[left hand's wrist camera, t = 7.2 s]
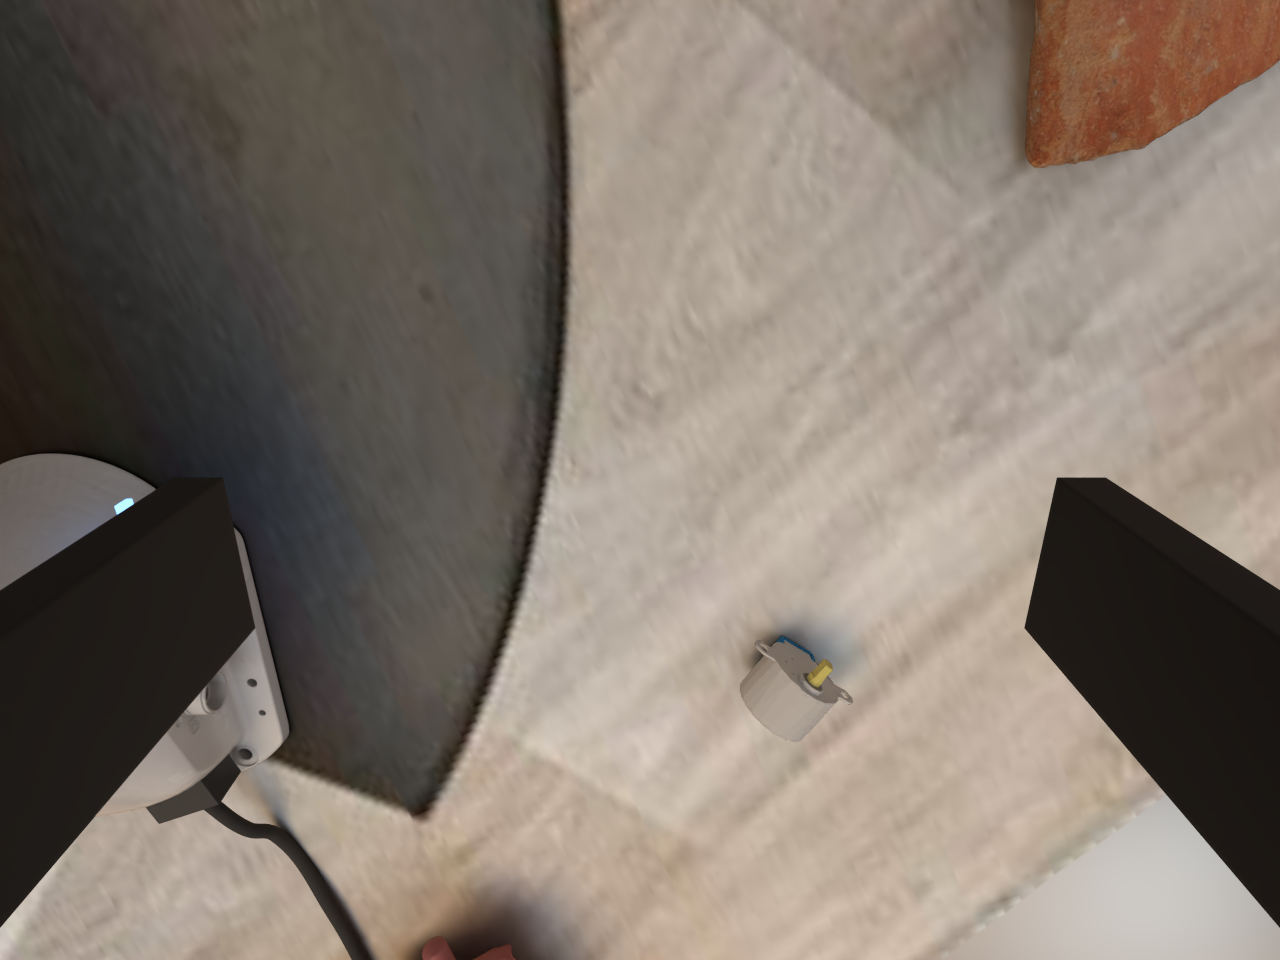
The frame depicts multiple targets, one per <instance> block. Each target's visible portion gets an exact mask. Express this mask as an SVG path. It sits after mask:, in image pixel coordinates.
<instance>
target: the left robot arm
mask: <svg viewBox="0 0 1280 960" xmlns="http://www.w3.org/2000/svg"><path fill="white" fill-rule="evenodd" d="M254 629H255V623H254V619H253V614H252V609H251V605H250V600H249V596H248V591H247V586H246V582H245V577H244V572H243V568H242V563H241V559H240V554H239V549H238V545H237V540H236V535H235V531H234V526H233V522H232V517H231V512H230V508H229V503H228V498H227V494H226V489H225V485H224V480H223V478H173V479H171V480H170V481H168V482H167V483H165V484H164V485H162V486H161V487H159V488H158V489H156V490H154V491H153V492H151V493H150V494H148V495H147V496H145V497H144V498H142V499H141V500H139V501H137V502H136V503H134V504H133V505H131V506H130V507H128V508H127V509H125V510H124V511H122V512H120V513H119V514H117V515H116V516H114V517H113V518H111V519H110V520H108V521H106V522H105V523H103V524H102V525H100V526H99V527H97V528H96V529H94V530H93V531H91V532H89V533H88V534H86V535H85V536H83V537H82V538H80V539H79V540H77V541H76V542H74V543H72V544H71V545H69V546H68V547H66V548H65V549H63V550H62V551H60V552H59V553H57V554H55V555H54V556H52V557H51V558H49V559H48V560H46V561H45V562H43V563H41V564H40V565H38V566H37V567H35V568H34V569H32V570H31V571H29V572H28V573H26V574H24V575H23V576H21V577H20V578H18V579H17V580H15V581H14V582H12V583H11V584H9V585H7V586H6V587H4V588H3V589H1V590H0V927H1V926H2V925H3V924H4V923H5V921H6V920H7V919H8V918H9V917H10V916H11V914H12V913H13V912H14V911H15V910H16V908H17V907H18V906H19V905H20V904H21V903H22V901H23V900H24V899H25V898H26V897H27V896H28V894H29V893H30V892H31V891H32V890H33V889H34V887H35V886H36V885H37V884H38V883H39V881H40V880H41V879H42V878H43V877H44V876H45V874H46V873H47V872H48V871H49V870H50V869H51V867H52V866H53V865H54V864H55V863H56V862H57V860H58V859H59V858H60V857H61V856H62V854H63V853H64V852H65V851H66V850H67V849H68V847H69V846H70V845H71V844H72V843H73V842H74V840H75V839H76V838H77V837H78V836H79V835H80V833H81V832H82V831H83V830H84V829H85V828H86V826H87V825H88V824H89V823H90V822H91V820H92V819H93V818H94V817H95V816H96V815H97V813H98V812H99V811H100V810H101V809H102V808H103V806H104V805H105V804H106V803H107V802H108V801H109V799H110V798H111V797H112V796H113V795H114V793H115V792H116V791H117V790H118V789H119V788H120V786H121V785H122V784H123V783H124V782H125V781H126V779H127V778H128V777H129V776H130V775H131V774H132V772H133V771H134V770H135V769H136V768H137V766H138V765H139V764H140V763H141V762H142V761H143V759H144V758H145V757H146V756H147V755H148V754H149V752H150V751H151V750H152V749H153V748H154V747H155V745H156V744H157V743H158V742H159V741H160V739H161V738H162V737H163V736H164V735H165V734H166V732H167V731H168V730H169V729H170V728H171V727H172V725H173V724H174V723H175V722H176V721H177V720H178V718H179V717H180V716H181V715H182V714H183V713H184V711H185V710H186V709H187V708H188V707H189V705H190V704H191V703H192V702H193V701H194V700H195V698H196V697H197V696H198V695H199V694H200V693H201V691H202V690H203V689H204V688H205V687H206V686H207V684H208V683H209V682H210V681H211V680H212V678H213V677H214V676H215V675H216V674H217V673H218V671H219V670H220V669H221V668H222V667H223V666H224V664H225V663H226V662H227V661H228V660H229V659H230V657H231V656H232V655H233V654H234V653H235V651H236V650H237V649H238V648H239V647H240V646H241V644H242V643H243V642H244V641H245V640H246V639H247V637H248V636H249V635H250V634H251V633H252V632H253V630H254ZM1025 629H1026V630H1027V632H1028V633H1029V634H1030V635H1031V636H1032V637H1033V639H1034V640H1035V641H1036V642H1037V643H1038V644H1039V646H1040V647H1041V648H1042V649H1043V650H1044V651H1045V653H1046V654H1047V655H1048V656H1049V657H1050V659H1051V660H1052V661H1053V662H1054V663H1055V664H1056V666H1057V667H1058V668H1059V669H1060V670H1061V671H1062V673H1063V674H1064V675H1065V676H1066V677H1067V678H1068V680H1069V681H1070V682H1071V683H1072V684H1073V686H1074V687H1075V688H1076V689H1077V690H1078V691H1079V693H1080V694H1081V695H1082V696H1083V697H1084V698H1085V700H1086V701H1087V702H1088V703H1089V704H1090V705H1091V707H1092V708H1093V709H1094V710H1095V711H1096V713H1097V714H1098V715H1099V716H1100V717H1101V718H1102V720H1103V721H1104V722H1105V723H1106V724H1107V725H1108V727H1109V728H1110V729H1111V730H1112V731H1113V732H1114V734H1115V735H1116V736H1117V737H1118V738H1119V739H1120V741H1121V742H1122V743H1123V744H1124V745H1125V747H1126V748H1127V749H1128V750H1129V751H1130V752H1131V754H1132V755H1133V756H1134V757H1135V758H1136V759H1137V761H1138V762H1139V763H1140V764H1141V765H1142V766H1143V768H1144V769H1145V770H1146V771H1147V772H1148V774H1149V775H1150V776H1151V777H1152V778H1153V779H1154V781H1155V782H1156V783H1157V784H1158V785H1159V786H1160V788H1161V789H1162V790H1163V791H1164V792H1165V793H1166V795H1167V796H1168V797H1169V798H1170V799H1171V800H1172V802H1173V803H1174V804H1175V805H1176V806H1177V808H1178V809H1179V810H1180V811H1181V812H1182V813H1183V814H1184V816H1185V817H1186V818H1187V819H1188V820H1189V822H1190V823H1191V824H1192V825H1193V826H1194V828H1195V829H1196V830H1197V831H1198V832H1199V833H1200V835H1201V836H1202V837H1203V838H1204V839H1205V840H1206V842H1207V843H1208V844H1209V845H1210V846H1211V847H1212V849H1213V850H1214V851H1215V852H1216V853H1217V854H1218V856H1219V857H1220V858H1221V859H1222V860H1223V861H1224V863H1225V864H1226V865H1227V866H1228V867H1229V869H1230V870H1231V871H1232V872H1233V873H1234V874H1235V876H1236V877H1237V878H1238V879H1239V880H1240V881H1241V883H1242V884H1243V885H1244V886H1245V887H1246V889H1247V890H1248V891H1249V892H1250V893H1251V894H1252V896H1253V897H1254V898H1255V899H1256V900H1257V901H1258V903H1259V904H1260V905H1261V906H1262V907H1263V908H1264V910H1265V911H1266V912H1267V913H1268V914H1269V916H1270V917H1271V918H1272V919H1273V920H1274V921H1275V922H1276V924H1277V925H1278V926H1279V927H1280V590H1279V589H1277V588H1276V587H1274V586H1273V585H1271V584H1269V583H1268V582H1266V581H1265V580H1263V579H1262V578H1260V577H1259V576H1257V575H1256V574H1254V573H1252V572H1251V571H1249V570H1248V569H1246V568H1245V567H1243V566H1242V565H1240V564H1239V563H1237V562H1235V561H1234V560H1232V559H1231V558H1229V557H1228V556H1226V555H1225V554H1223V553H1221V552H1220V551H1218V550H1217V549H1215V548H1214V547H1212V546H1211V545H1209V544H1208V543H1206V542H1204V541H1203V540H1201V539H1200V538H1198V537H1197V536H1195V535H1194V534H1192V533H1191V532H1189V531H1187V530H1186V529H1184V528H1183V527H1181V526H1180V525H1178V524H1177V523H1175V522H1174V521H1172V520H1170V519H1169V518H1167V517H1166V516H1164V515H1163V514H1161V513H1160V512H1158V511H1156V510H1155V509H1153V508H1152V507H1150V506H1149V505H1147V504H1146V503H1144V502H1143V501H1141V500H1139V499H1138V498H1136V497H1135V496H1133V495H1132V494H1130V493H1129V492H1127V491H1126V490H1124V489H1122V488H1121V487H1119V486H1118V485H1116V484H1115V483H1113V482H1112V481H1110V480H1109V479H1107V478H1057V480H1056V485H1055V489H1054V494H1053V498H1052V503H1051V508H1050V512H1049V517H1048V522H1047V526H1046V531H1045V535H1044V540H1043V545H1042V549H1041V554H1040V559H1039V563H1038V568H1037V572H1036V577H1035V582H1034V586H1033V591H1032V596H1031V600H1030V605H1029V609H1028V614H1027V619H1026V623H1025Z"/></svg>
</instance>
